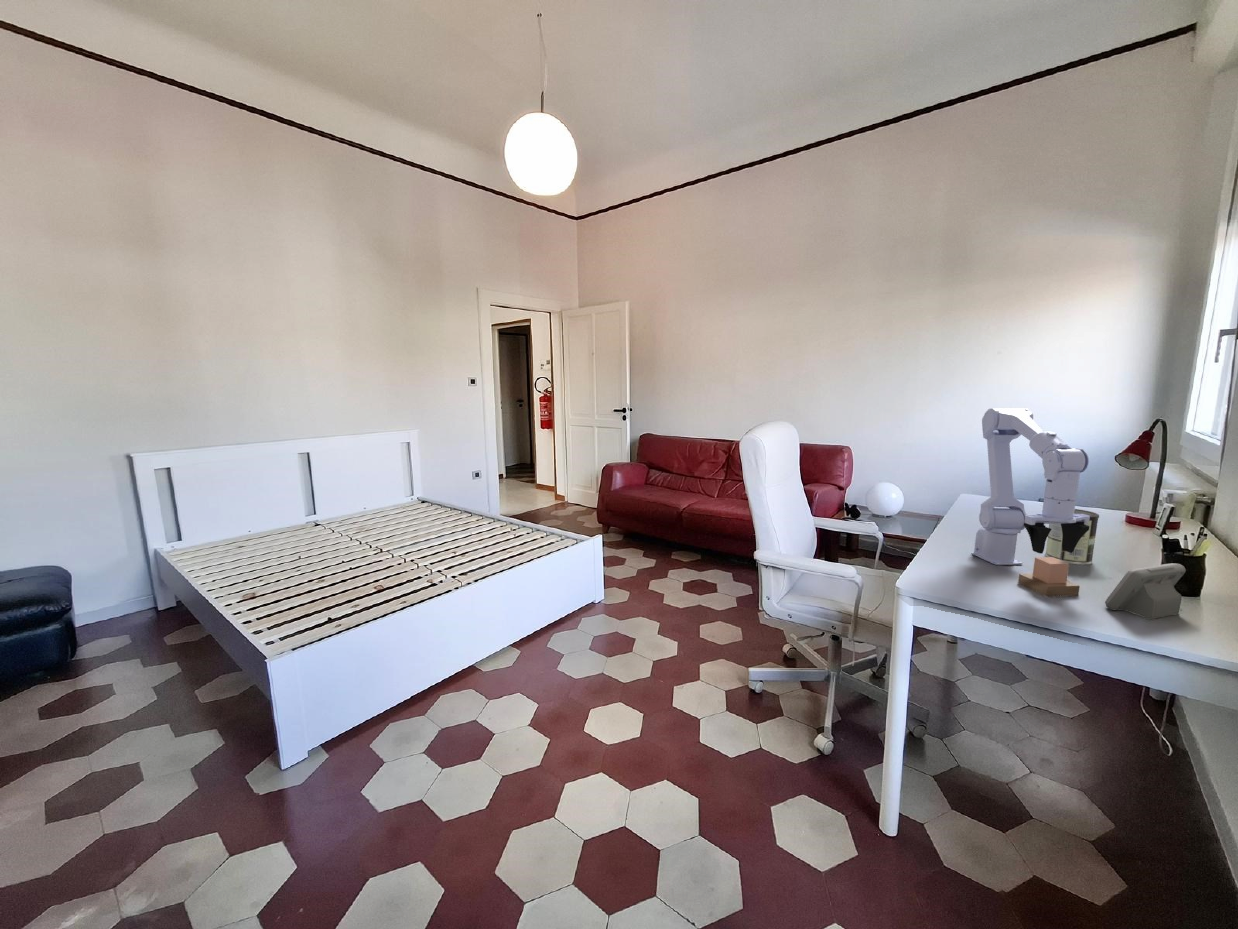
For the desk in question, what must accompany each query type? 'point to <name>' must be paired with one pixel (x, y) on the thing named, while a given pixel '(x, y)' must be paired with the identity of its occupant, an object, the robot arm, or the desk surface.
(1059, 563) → the terracotta block
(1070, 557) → the coffee can
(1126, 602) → the digital clock
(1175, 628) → the desk surface
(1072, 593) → the walnut slab
